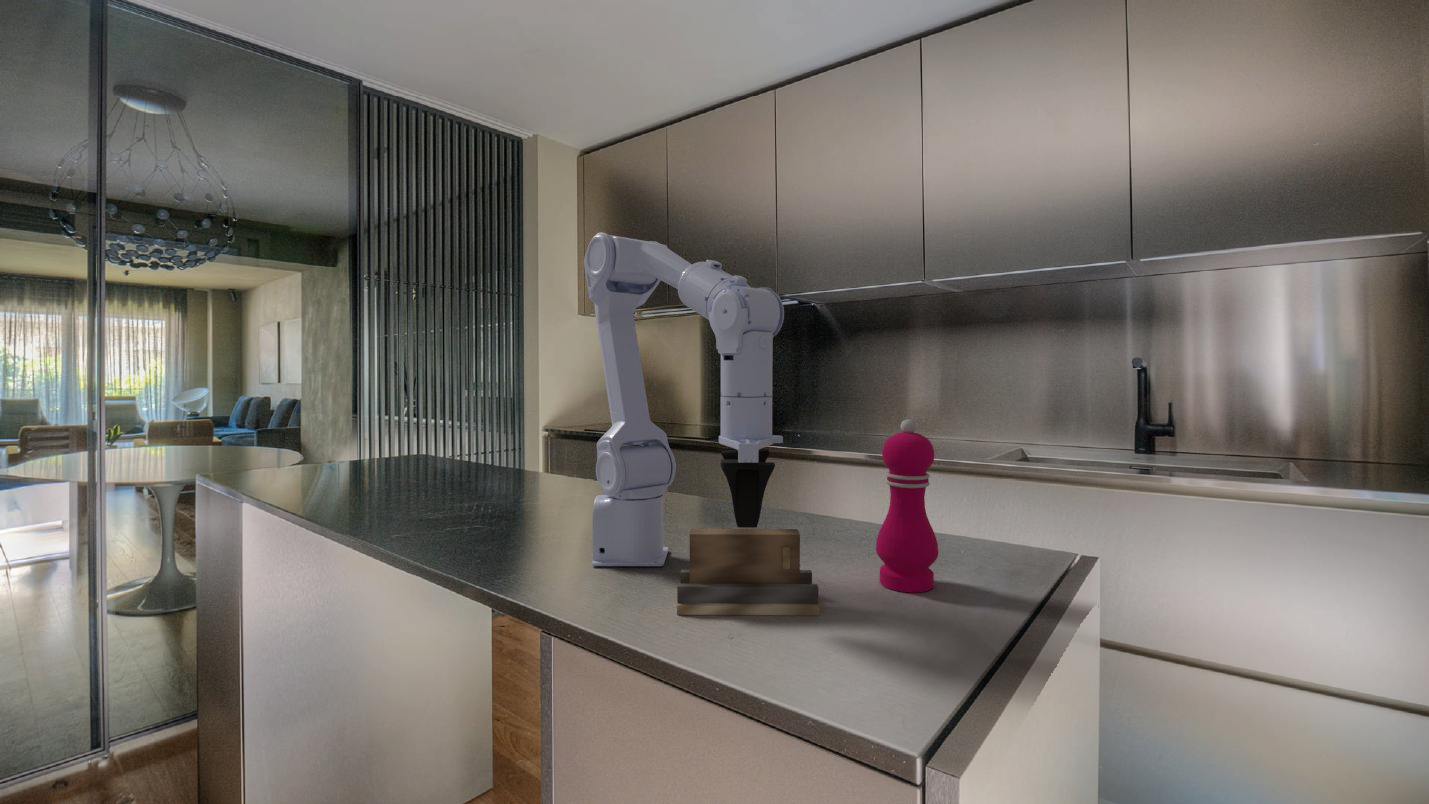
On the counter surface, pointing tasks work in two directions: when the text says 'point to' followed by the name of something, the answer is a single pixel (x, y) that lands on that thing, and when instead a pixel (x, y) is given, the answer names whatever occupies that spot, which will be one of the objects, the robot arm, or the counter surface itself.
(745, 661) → the counter surface
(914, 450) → the pepper mill
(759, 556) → the door panel
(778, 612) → the track board
